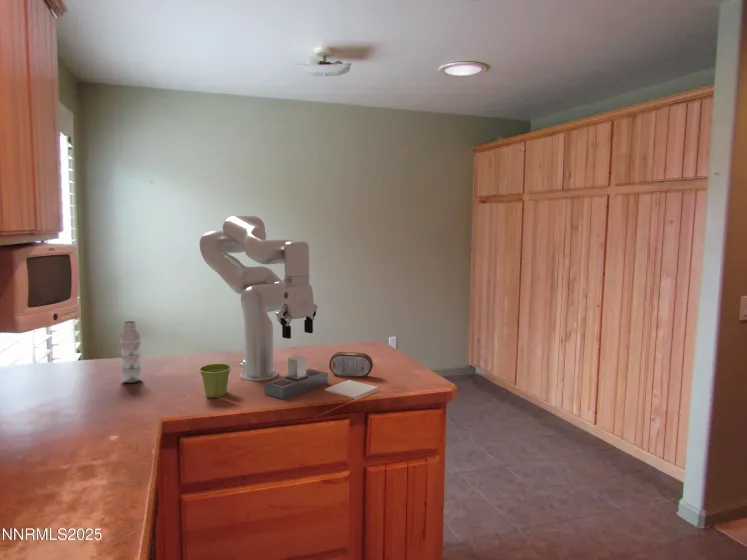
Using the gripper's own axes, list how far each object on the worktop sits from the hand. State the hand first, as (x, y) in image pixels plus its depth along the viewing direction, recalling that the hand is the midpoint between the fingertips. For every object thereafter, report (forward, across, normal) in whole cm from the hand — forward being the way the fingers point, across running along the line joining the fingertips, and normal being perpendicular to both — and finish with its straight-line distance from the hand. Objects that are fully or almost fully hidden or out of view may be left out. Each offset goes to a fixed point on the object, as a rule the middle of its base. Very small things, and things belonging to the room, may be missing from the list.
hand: (297, 335), depth 168 cm
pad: (+18, +10, -13) cm, 25 cm away
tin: (+18, +22, -3) cm, 29 cm away
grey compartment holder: (+18, 0, +1) cm, 18 cm away
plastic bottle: (+17, -28, +49) cm, 59 cm away
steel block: (+17, 0, +1) cm, 17 cm away
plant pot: (+18, -19, +17) cm, 31 cm away
